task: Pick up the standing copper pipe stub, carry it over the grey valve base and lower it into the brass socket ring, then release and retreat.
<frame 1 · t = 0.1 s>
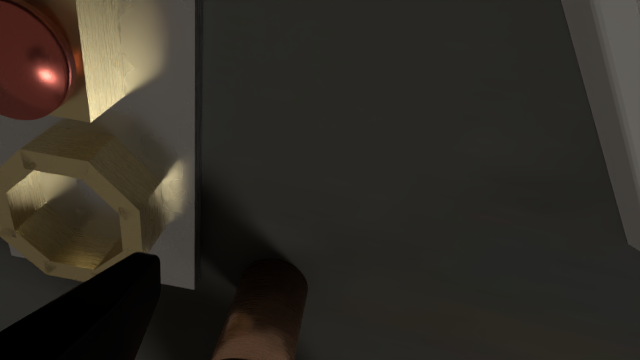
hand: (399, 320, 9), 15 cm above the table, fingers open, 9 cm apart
pipe stub: (274, 285, 29), on the table
valve body: (101, 185, 26), on the table
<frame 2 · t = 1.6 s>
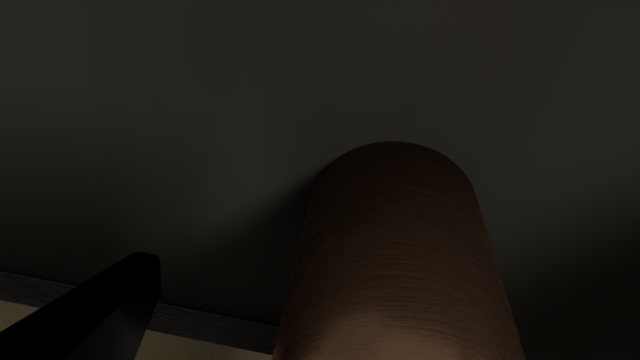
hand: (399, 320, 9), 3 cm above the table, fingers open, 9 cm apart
pipe stub: (391, 216, 12), on the table
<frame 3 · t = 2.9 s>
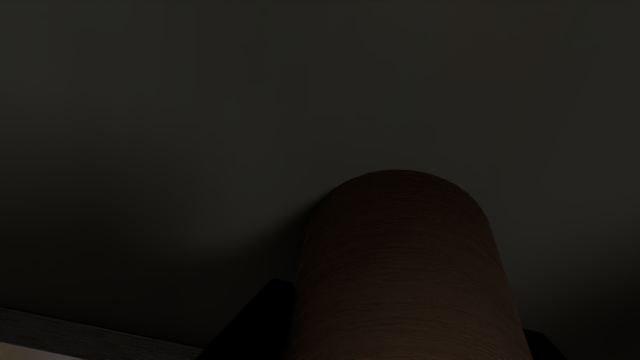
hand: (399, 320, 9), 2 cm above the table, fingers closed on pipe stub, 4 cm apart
pipe stub: (396, 250, 10), on the table, touching gripper
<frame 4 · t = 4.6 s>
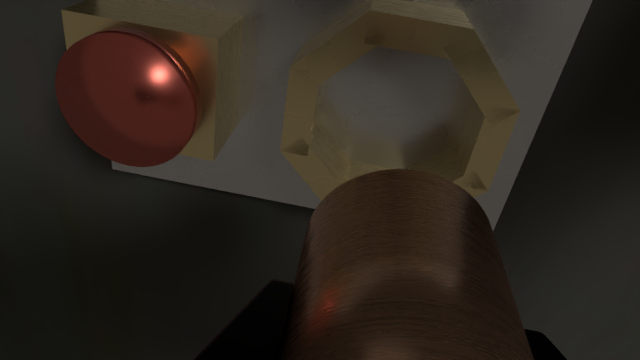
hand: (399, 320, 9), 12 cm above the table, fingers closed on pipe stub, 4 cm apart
pipe stub: (397, 249, 10), point 10 cm above the table, touching gripper
valve body: (392, 94, 19), on the table
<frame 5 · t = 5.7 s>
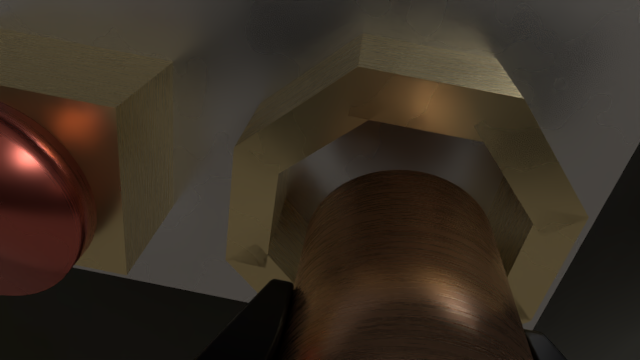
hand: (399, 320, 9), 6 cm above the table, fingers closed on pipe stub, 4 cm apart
pipe stub: (396, 250, 10), point 4 cm above the table, touching gripper
valve body: (390, 165, 14), on the table
when the fingers open (5 cm above the table, at t = 6.6 s): pipe stub drops 2 cm, resting on valve body.
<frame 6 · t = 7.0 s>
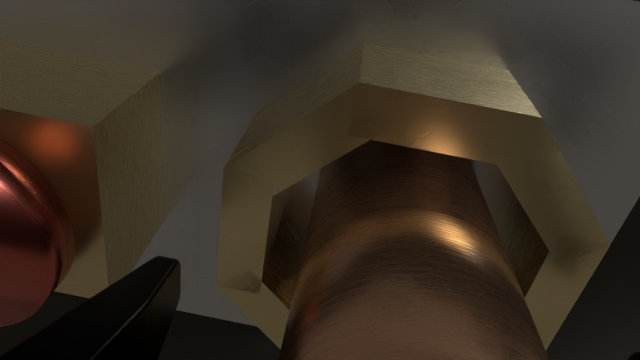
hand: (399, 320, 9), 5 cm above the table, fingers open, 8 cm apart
pipe stub: (395, 201, 12), point 1 cm above the table, touching valve body
valve body: (393, 181, 13), on the table
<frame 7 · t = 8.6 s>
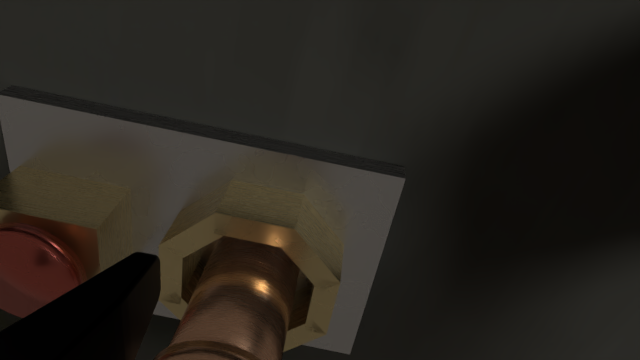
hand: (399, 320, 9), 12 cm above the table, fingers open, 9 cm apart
pipe stub: (259, 253, 22), point 1 cm above the table, touching valve body
valve body: (262, 240, 23), on the table
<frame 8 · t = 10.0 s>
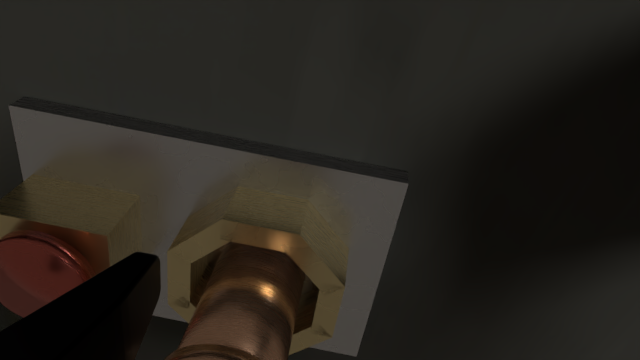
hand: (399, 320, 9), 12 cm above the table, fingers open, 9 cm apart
pipe stub: (265, 257, 23), point 1 cm above the table, touching valve body
valve body: (269, 245, 24), on the table
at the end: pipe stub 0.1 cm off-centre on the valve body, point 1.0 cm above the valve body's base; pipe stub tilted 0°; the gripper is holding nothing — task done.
